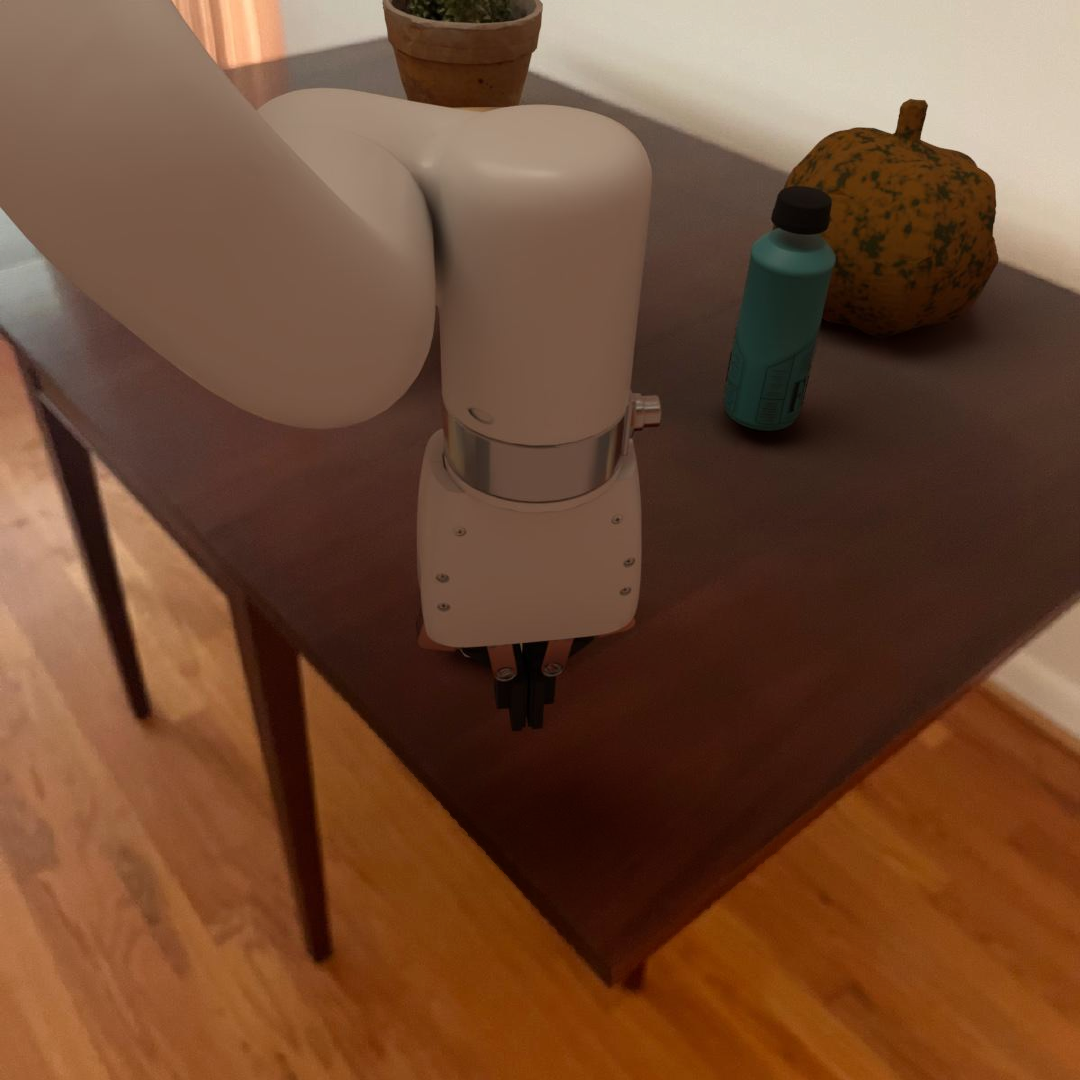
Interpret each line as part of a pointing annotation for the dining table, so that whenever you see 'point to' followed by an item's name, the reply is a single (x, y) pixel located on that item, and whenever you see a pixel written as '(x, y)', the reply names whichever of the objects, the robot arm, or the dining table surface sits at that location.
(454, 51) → the potted plant
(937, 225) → the decorative pumpkin
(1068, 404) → the dining table surface
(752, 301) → the beverage bottle
